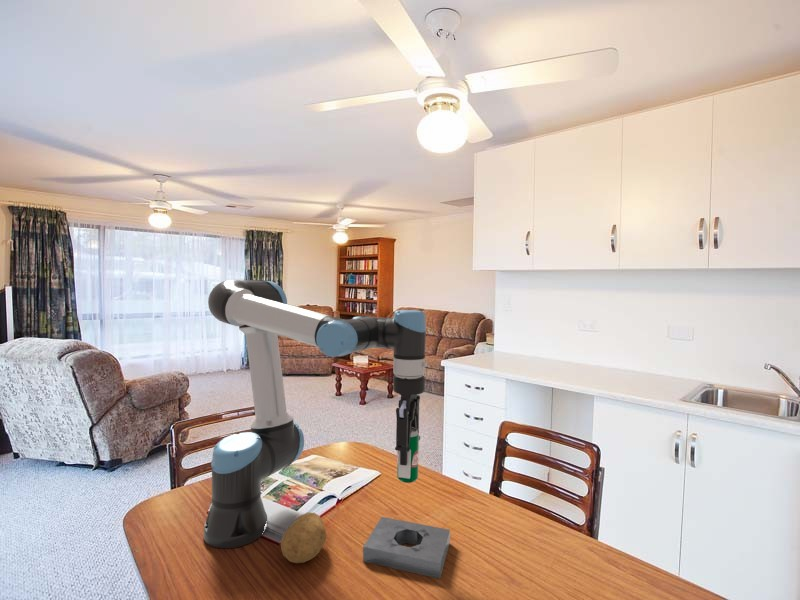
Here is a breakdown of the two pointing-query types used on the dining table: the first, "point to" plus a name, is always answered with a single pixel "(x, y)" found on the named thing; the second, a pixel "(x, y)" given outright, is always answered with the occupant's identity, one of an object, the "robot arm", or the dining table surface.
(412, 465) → the soda can
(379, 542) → the plate
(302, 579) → the dining table surface
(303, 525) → the potato
